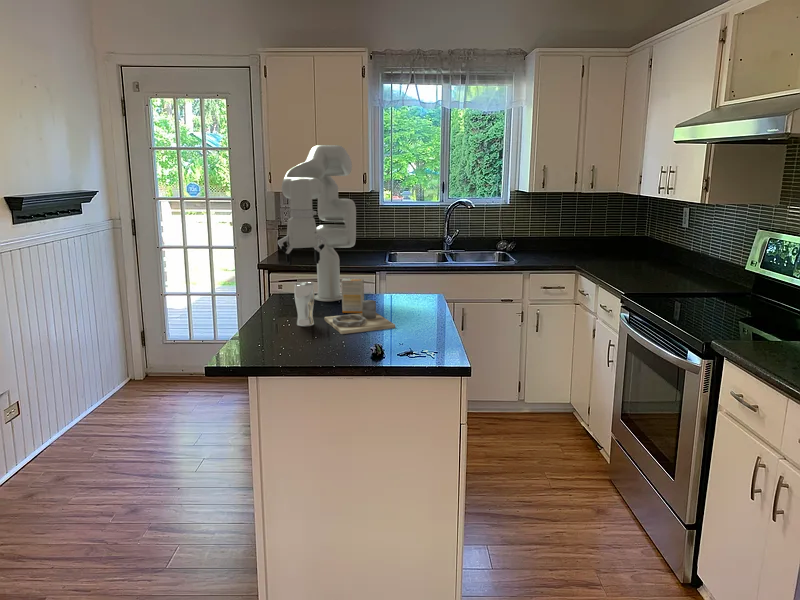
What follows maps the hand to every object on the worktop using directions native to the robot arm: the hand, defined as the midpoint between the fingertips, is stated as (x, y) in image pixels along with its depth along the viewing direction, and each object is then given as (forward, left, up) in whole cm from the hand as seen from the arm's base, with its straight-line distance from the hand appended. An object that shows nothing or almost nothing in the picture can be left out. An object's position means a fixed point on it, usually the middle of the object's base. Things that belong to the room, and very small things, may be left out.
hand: (303, 263), depth 207 cm
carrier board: (+7, +18, -22) cm, 29 cm away
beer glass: (0, 0, -22) cm, 22 cm away
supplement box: (-11, +22, -22) cm, 33 cm away
